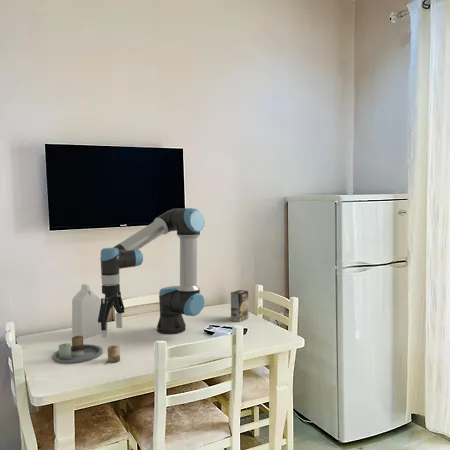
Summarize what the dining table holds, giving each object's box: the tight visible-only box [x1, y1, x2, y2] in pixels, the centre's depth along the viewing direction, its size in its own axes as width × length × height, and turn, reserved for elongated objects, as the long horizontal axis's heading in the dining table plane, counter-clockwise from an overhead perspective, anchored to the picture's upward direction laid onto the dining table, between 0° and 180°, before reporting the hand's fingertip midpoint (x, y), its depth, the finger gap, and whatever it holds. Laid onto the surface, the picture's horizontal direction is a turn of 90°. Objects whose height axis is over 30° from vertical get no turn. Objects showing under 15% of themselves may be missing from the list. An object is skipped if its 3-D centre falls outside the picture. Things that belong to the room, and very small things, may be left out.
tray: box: [51, 343, 103, 365], centre depth 192 cm, size 21×21×2 cm
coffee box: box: [230, 289, 250, 323], centre depth 244 cm, size 9×6×16 cm
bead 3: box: [107, 345, 121, 364], centre depth 185 cm, size 5×5×6 cm
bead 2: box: [71, 335, 84, 352], centre depth 198 cm, size 5×5×6 cm
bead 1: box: [58, 342, 72, 360], centre depth 187 cm, size 5×5×6 cm
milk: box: [71, 283, 101, 340], centre depth 223 cm, size 12×12×26 cm
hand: (112, 332), depth 185 cm, fingers open, 13 cm apart
